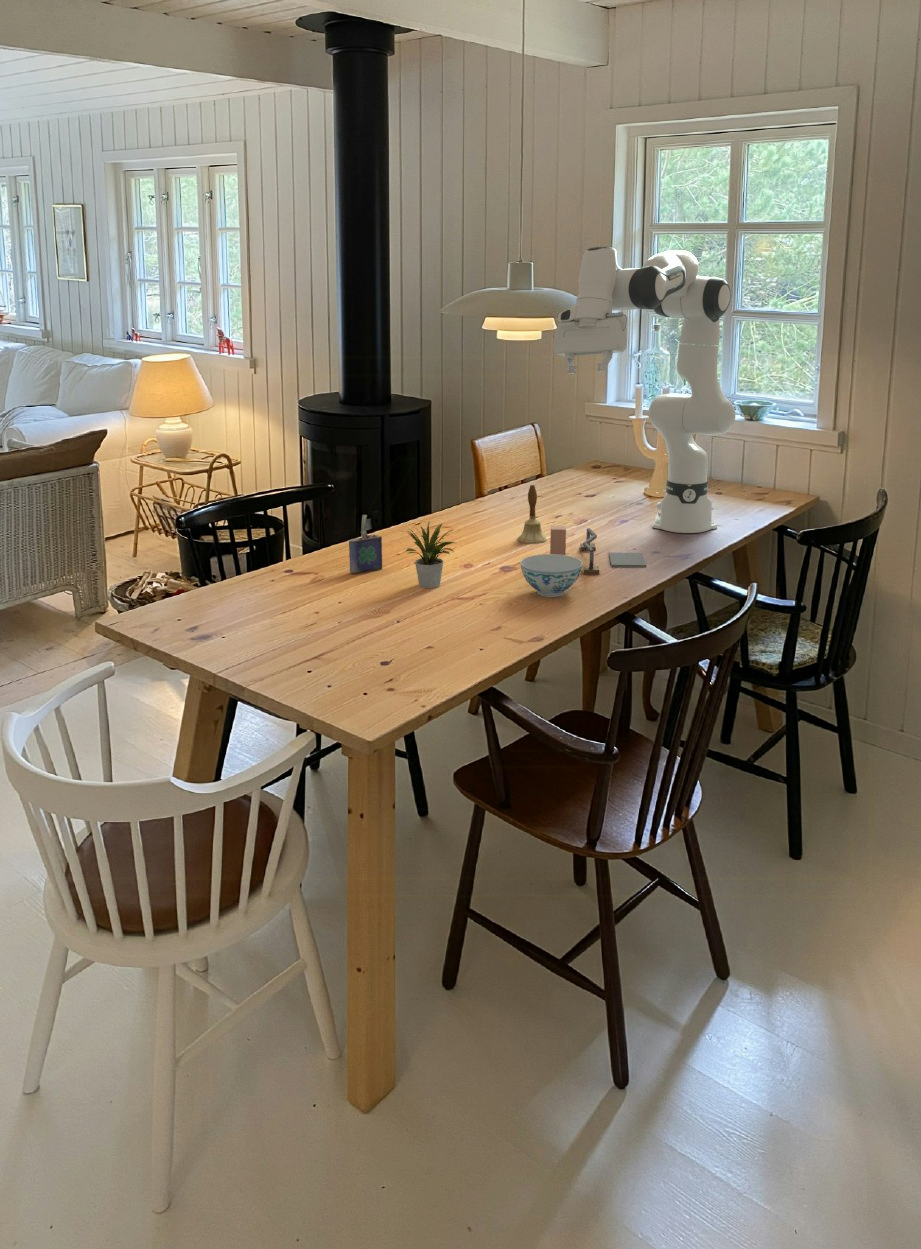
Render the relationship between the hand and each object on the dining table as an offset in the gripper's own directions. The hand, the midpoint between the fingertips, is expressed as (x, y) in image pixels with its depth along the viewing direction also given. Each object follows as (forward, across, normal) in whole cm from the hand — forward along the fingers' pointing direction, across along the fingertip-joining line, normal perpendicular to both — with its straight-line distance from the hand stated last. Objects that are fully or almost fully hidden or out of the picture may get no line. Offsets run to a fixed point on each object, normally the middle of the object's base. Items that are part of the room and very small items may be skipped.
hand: (586, 372), depth 265 cm
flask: (+54, +48, +22) cm, 76 cm away
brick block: (+46, +18, -19) cm, 53 cm away
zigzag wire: (+45, +12, -25) cm, 52 cm away
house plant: (+56, +27, +20) cm, 65 cm away
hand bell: (+41, +37, -29) cm, 63 cm away
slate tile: (+44, +4, -31) cm, 54 cm away
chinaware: (+54, +1, +2) cm, 54 cm away
